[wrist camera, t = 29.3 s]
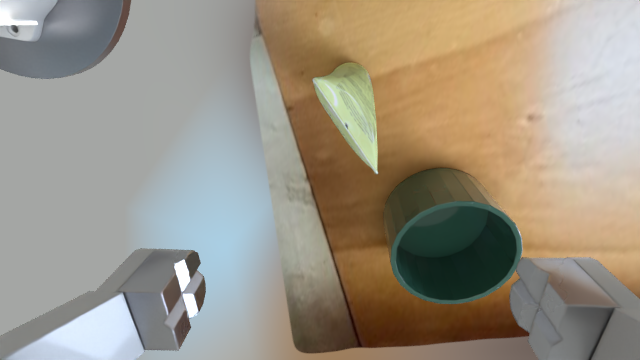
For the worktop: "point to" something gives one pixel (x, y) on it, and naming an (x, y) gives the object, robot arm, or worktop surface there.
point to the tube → (351, 108)
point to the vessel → (449, 237)
